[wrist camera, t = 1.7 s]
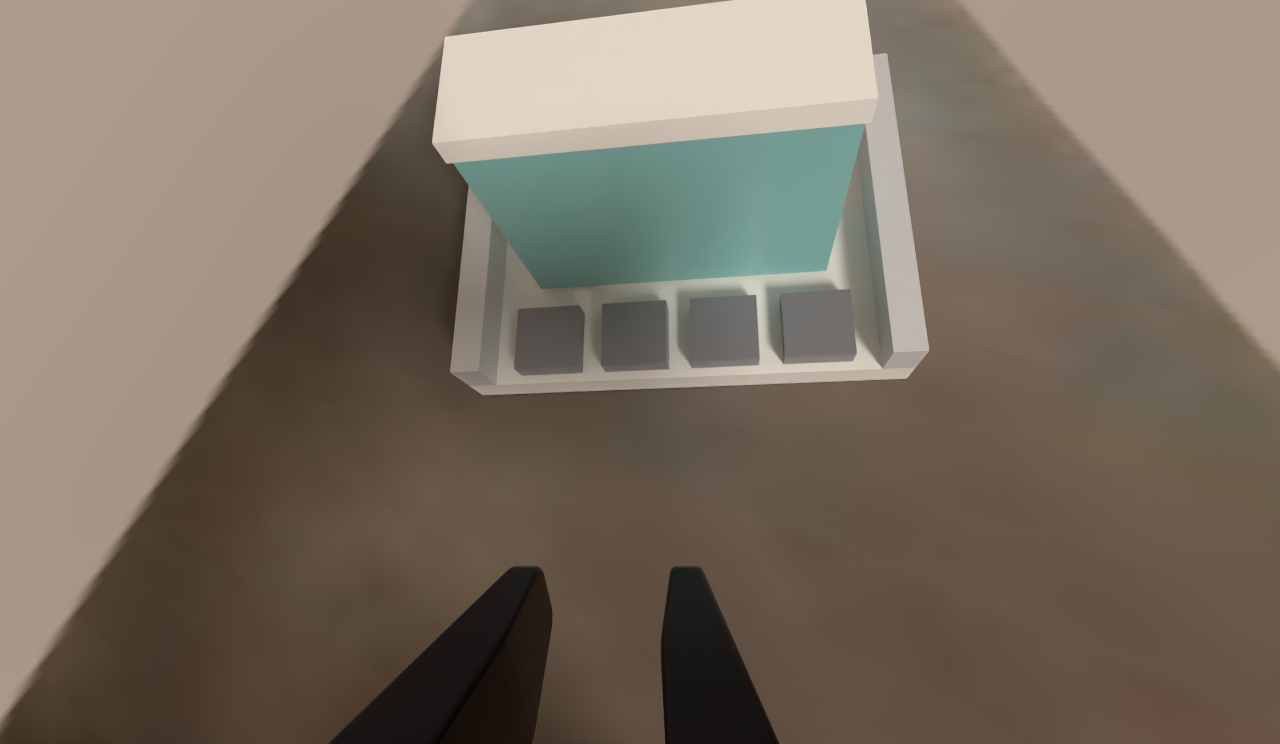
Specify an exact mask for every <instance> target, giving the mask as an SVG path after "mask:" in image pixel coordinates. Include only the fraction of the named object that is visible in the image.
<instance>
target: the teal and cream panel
mask: <svg viewBox="0 0 1280 744" xmlns="http://www.w3.org/2000/svg"><path fill="white" fill-rule="evenodd" d="M877 101H878V91H877V84H876V76H875V69H874V61H873V54H872V46H871V39H870V31H869V24H868V16H867V9H866V1H865V0H732V1H724V2H716V3H708V4H701V5H693V6H685V7H677V8H669V9H661V10H653V11H645V12H638V13H630V14H622V15H614V16H606V17H598V18H590V19H582V20H574V21H567V22H559V23H551V24H543V25H535V26H527V27H519V28H511V29H504V30H496V31H488V32H480V33H472V34H464V35H456V36H448V37H445V41H444V49H443V57H442V66H441V74H440V82H439V90H438V98H437V106H436V114H435V122H434V130H433V138H432V144H433V145H434V147H435V148H436V150H437V151H438V152H439V154H440V155H441V157H442V158H443V159H444V161H445V162H446V164H449V163H453V164H454V165H455V167H456V168H457V170H458V171H459V172H460V174H461V175H462V177H463V178H464V180H465V181H466V182H467V184H468V185H469V187H470V188H471V190H472V191H473V192H474V194H475V195H476V197H477V198H478V200H479V201H480V202H481V204H482V205H483V207H484V208H485V210H486V211H487V212H488V214H489V215H490V217H491V218H492V219H493V221H494V222H495V224H496V225H497V227H498V228H499V229H500V231H501V232H502V234H503V235H504V237H505V238H506V239H507V241H508V242H509V244H510V245H511V247H512V248H513V249H514V251H515V252H516V254H517V255H518V257H519V258H520V259H521V261H522V262H523V264H524V265H525V267H526V268H527V269H528V271H529V272H530V274H531V275H532V277H533V278H534V279H535V281H536V282H537V284H538V285H539V287H540V288H541V289H550V288H565V287H581V286H596V285H612V284H628V283H643V282H659V281H675V280H690V279H706V278H722V277H737V276H753V275H768V274H784V273H800V272H815V271H826V270H827V266H828V262H829V259H830V255H831V251H832V247H833V244H834V240H835V236H836V232H837V229H838V225H839V221H840V217H841V214H842V210H843V206H844V202H845V198H846V195H847V191H848V187H849V183H850V180H851V176H852V172H853V168H854V165H855V161H856V157H857V153H858V150H859V146H860V142H861V138H862V134H863V131H864V127H865V124H866V123H872V119H873V116H874V112H875V108H876V105H877Z"/></svg>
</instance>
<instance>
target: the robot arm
mask: <svg viewBox="0 0 1280 744" xmlns="http://www.w3.org/2000/svg"><path fill="white" fill-rule="evenodd" d="M551 629H552V607H551V602H550V598H549V594H548V590H547V585H546V581H545V577H544V573H543V571H542V569H541V568H540V567H537V566H515V567H512V568H510V569H509V570H508V571H506V572H505V573H504V574H503V575H502V576H501V577H500V578H499V579H498V580H497V581H496V582H495V583H494V584H493V585H492V586H491V587H490V588H489V589H488V590H487V591H486V592H485V593H484V594H483V595H482V596H481V597H480V598H478V599H477V600H476V601H475V602H474V603H473V604H472V605H471V606H470V607H469V608H468V609H467V610H466V611H465V612H464V613H463V614H462V615H461V616H460V617H459V618H458V619H457V620H456V621H455V622H454V623H453V624H452V625H451V626H450V627H449V628H447V629H446V630H445V631H444V632H443V633H442V634H441V635H440V636H439V637H438V638H437V639H436V640H435V641H434V642H433V643H432V644H431V645H430V646H429V647H428V648H427V649H426V650H425V651H424V652H423V653H422V654H421V655H420V656H419V657H417V658H416V659H415V660H414V661H413V662H412V663H411V664H410V665H409V666H408V667H407V668H406V669H405V670H404V671H403V672H402V673H401V674H400V675H399V676H398V677H397V678H396V679H395V680H394V681H393V682H392V683H391V684H390V685H389V686H387V687H386V688H385V689H384V690H383V691H382V692H381V693H380V694H379V695H378V696H377V697H376V698H375V699H374V700H373V701H372V702H371V703H370V704H369V705H368V706H367V707H366V708H365V709H364V710H363V711H362V712H361V713H360V714H359V715H357V716H356V717H355V718H354V719H353V720H352V721H351V722H350V723H349V724H348V725H347V726H346V727H345V728H344V729H343V730H342V731H341V732H340V733H339V734H338V735H337V736H336V737H335V738H334V739H333V740H332V741H331V742H330V743H329V744H532V741H533V737H534V732H535V727H536V721H537V716H538V709H539V703H540V697H541V691H542V685H543V678H544V672H545V666H546V660H547V654H548V647H549V641H550V635H551ZM661 669H662V689H663V708H664V728H665V744H779V742H778V740H777V737H776V735H775V733H774V730H773V728H772V726H771V724H770V721H769V719H768V717H767V715H766V712H765V710H764V708H763V705H762V703H761V701H760V699H759V696H758V694H757V692H756V690H755V687H754V685H753V683H752V680H751V678H750V676H749V674H748V671H747V669H746V667H745V665H744V662H743V660H742V658H741V655H740V653H739V651H738V649H737V646H736V644H735V642H734V640H733V637H732V635H731V633H730V631H729V628H728V626H727V624H726V621H725V619H724V617H723V615H722V612H721V610H720V608H719V606H718V603H717V601H716V599H715V596H714V594H713V592H712V590H711V587H710V585H709V583H708V581H707V578H706V576H705V574H704V572H703V570H702V569H701V568H700V567H698V566H675V567H673V568H672V569H671V571H670V577H669V584H668V591H667V598H666V605H665V612H664V619H663V627H662V635H661Z"/></svg>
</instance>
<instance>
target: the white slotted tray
mask: <svg viewBox="0 0 1280 744" xmlns="http://www.w3.org/2000/svg"><path fill="white" fill-rule="evenodd" d="M873 61H874V69H875V76H876V84H877V91H878V101H877V105H876V108H875V112H874V116H873V119H872V123H866V124H865V127H864V131H863V134H862V138H861V142H860V146H859V150H858V153H857V157H856V161H855V165H854V168H853V172H852V176H851V180H850V183H849V187H848V191H847V195H846V198H845V202H844V206H843V210H842V214H841V217H840V221H839V225H838V229H837V232H836V236H835V240H834V244H833V247H832V251H831V255H830V259H829V262H828V266H827V270H826V271H815V272H800V273H784V274H768V275H753V276H737V277H722V278H706V279H690V280H675V281H659V282H643V283H628V284H612V285H596V286H581V287H565V288H550V289H541V288H540V287H539V285H538V284H537V282H536V281H535V279H534V278H533V277H532V275H531V274H530V272H529V271H528V269H527V268H526V267H525V265H524V264H523V262H522V261H521V259H520V258H519V257H518V255H517V254H516V252H515V251H514V249H513V248H512V247H511V245H510V244H509V242H508V241H507V239H506V238H505V237H504V235H503V234H502V232H501V231H500V229H499V228H498V227H497V225H496V224H495V222H494V221H493V219H492V218H491V217H490V215H489V214H488V212H487V211H486V210H485V208H484V207H483V205H482V204H481V202H480V201H479V200H478V198H477V197H476V195H475V194H474V192H473V191H472V190H471V188H470V187H469V188H468V198H467V208H466V218H465V228H464V238H463V248H462V258H461V268H460V278H459V288H458V298H457V308H456V318H455V328H454V338H453V348H452V358H451V368H450V373H452V374H453V375H454V376H456V377H457V378H459V379H460V380H462V381H463V382H464V383H466V384H467V385H469V386H470V387H472V388H473V389H474V390H476V391H477V392H479V393H480V394H482V395H501V394H526V393H552V392H577V391H603V390H628V389H654V388H679V387H705V386H730V385H756V384H781V383H807V382H832V381H858V380H883V379H907V377H908V376H909V375H910V374H911V373H912V371H913V370H914V369H915V368H916V366H917V365H918V364H919V363H920V361H921V360H922V359H923V358H924V356H925V355H926V354H927V353H928V352H929V346H928V339H927V332H926V325H925V318H924V311H923V304H922V297H921V290H920V283H919V276H918V269H917V262H916V255H915V248H914V241H913V234H912V227H911V219H910V212H909V205H908V198H907V191H906V184H905V177H904V170H903V163H902V156H901V149H900V142H899V135H898V128H897V121H896V114H895V107H894V100H893V93H892V86H891V78H890V71H889V64H888V57H887V53H885V54H876V55H873Z"/></svg>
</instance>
